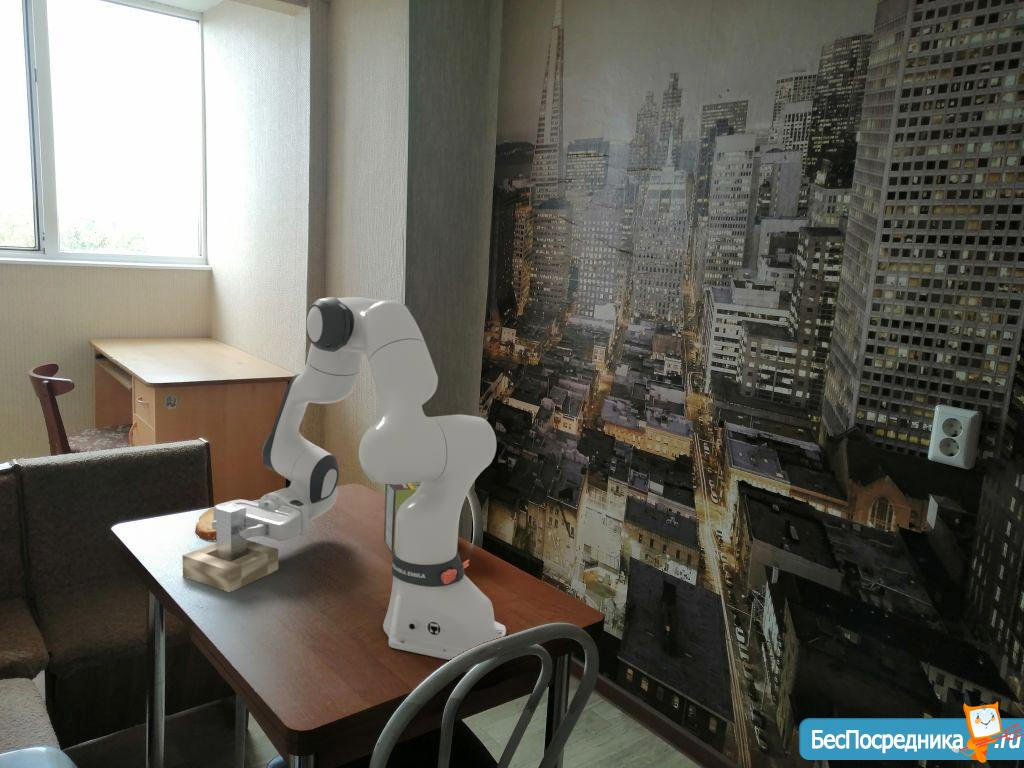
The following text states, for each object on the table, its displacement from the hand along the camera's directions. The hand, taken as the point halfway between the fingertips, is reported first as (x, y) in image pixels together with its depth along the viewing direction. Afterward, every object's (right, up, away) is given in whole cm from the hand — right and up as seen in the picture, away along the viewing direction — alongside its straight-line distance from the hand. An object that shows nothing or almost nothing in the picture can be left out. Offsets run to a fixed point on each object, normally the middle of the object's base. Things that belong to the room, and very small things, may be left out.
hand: (227, 530), depth 152 cm
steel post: (0, -9, +2) cm, 10 cm away
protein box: (+36, -8, +23) cm, 44 cm away
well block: (0, -9, +2) cm, 10 cm away
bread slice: (-11, -5, +29) cm, 31 cm away
